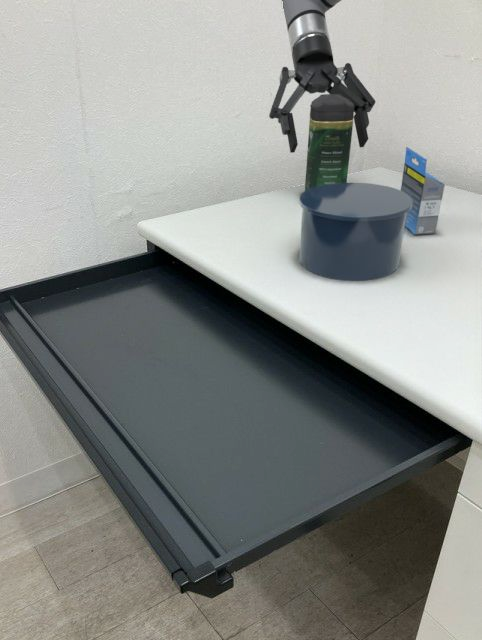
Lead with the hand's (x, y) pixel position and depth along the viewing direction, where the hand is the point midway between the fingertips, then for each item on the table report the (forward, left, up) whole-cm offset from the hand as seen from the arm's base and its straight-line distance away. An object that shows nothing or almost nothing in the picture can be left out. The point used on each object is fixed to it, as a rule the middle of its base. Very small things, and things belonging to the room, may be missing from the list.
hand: (329, 146), depth 111 cm
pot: (+1, +31, -10) cm, 32 cm away
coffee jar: (0, 0, -10) cm, 10 cm away
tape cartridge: (-13, +17, -10) cm, 23 cm away
